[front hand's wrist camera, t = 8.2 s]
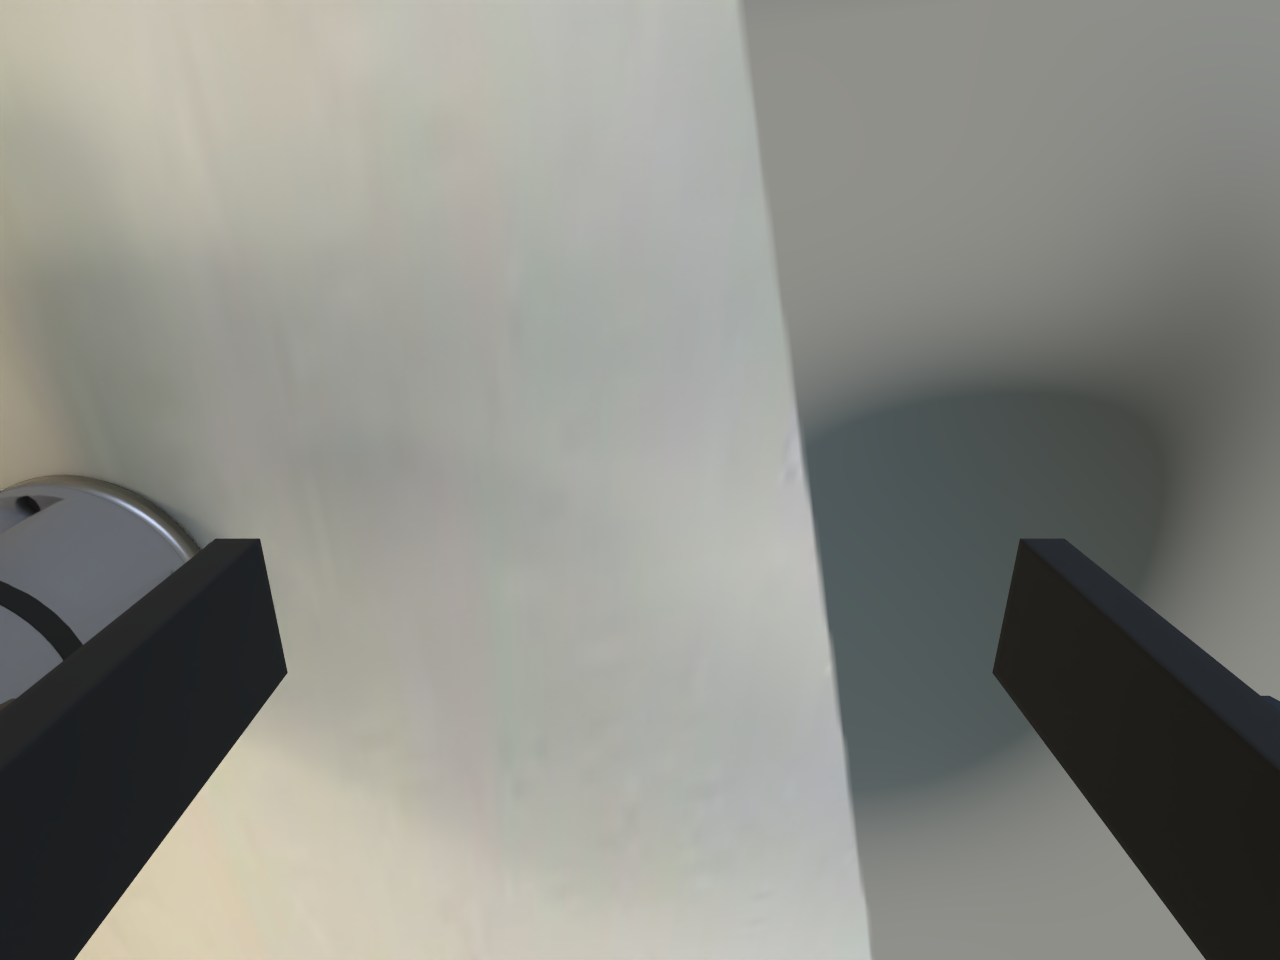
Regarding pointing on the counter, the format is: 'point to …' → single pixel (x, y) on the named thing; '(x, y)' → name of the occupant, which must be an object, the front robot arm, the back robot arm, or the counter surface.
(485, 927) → the counter surface
